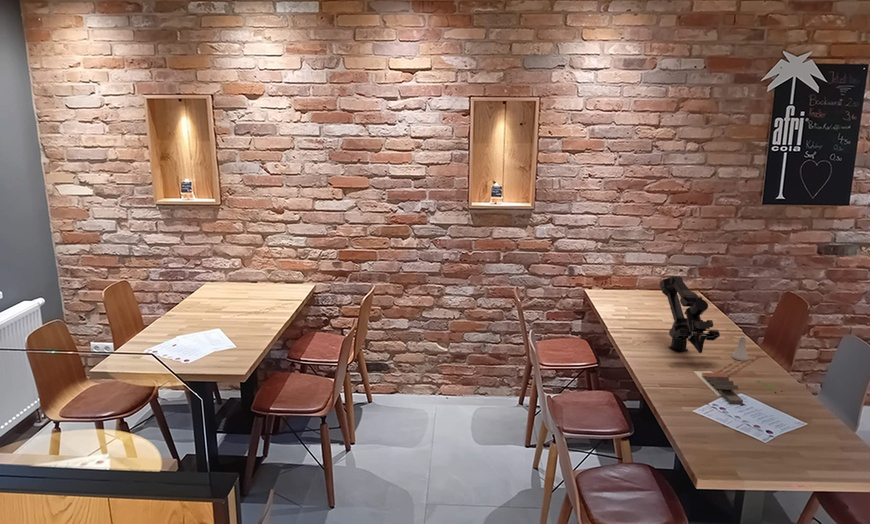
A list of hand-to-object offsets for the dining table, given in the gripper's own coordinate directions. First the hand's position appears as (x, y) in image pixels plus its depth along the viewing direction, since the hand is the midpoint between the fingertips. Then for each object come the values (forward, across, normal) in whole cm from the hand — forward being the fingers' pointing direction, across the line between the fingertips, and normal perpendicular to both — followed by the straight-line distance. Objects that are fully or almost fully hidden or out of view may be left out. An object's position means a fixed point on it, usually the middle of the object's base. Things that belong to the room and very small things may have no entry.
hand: (700, 352), depth 287 cm
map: (+21, +20, -13) cm, 32 cm away
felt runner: (+16, -1, -6) cm, 18 cm away
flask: (-3, +26, +13) cm, 29 cm away
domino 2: (+13, 0, -5) cm, 14 cm away
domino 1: (+11, 0, -2) cm, 11 cm away
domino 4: (+19, -1, -11) cm, 22 cm away
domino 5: (+22, -1, -14) cm, 26 cm away
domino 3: (+16, -1, -8) cm, 18 cm away
